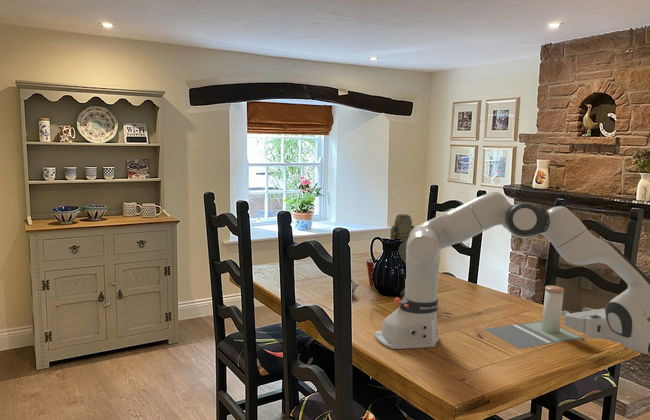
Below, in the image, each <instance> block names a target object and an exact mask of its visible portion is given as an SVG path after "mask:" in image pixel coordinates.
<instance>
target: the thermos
mask: <svg viewBox="0 0 650 420" xmlns="http://www.w3.org/2000/svg"><path fill="white" fill-rule="evenodd" d="M393 224H394V225H392V226H391V228H390V239H389V241H390V240H392V239H402V240H404V242H403V241H402V242H403V243H402V244H400V247H399V250H398V252H400V253H399V255H401V256H400V257H402V258H401V259H402V260H403V261H404V262H405V263H406V245H407V241H408V237H409V234H410V232H411V230H412V229H413V228H414V227H415V226H414V225H413V221H412V217H411V216H410V215H409V214H403V213H401V214H397V215H396V217H395V219H394V223H393ZM399 296H405V288H404V289H403V291H402V292H401V293H400V295H399Z"/></svg>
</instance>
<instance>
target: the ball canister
mask: <svg viewBox="0 0 650 420" xmlns="http://www.w3.org/2000/svg"><path fill="white" fill-rule="evenodd" d="M564 292H565V288H564V287H561V286H557V285H545V286H544V299H543V301H544V302H543V311H542V320H541V321H542V331H544V332H546V333H550V334H558V333H560V327H561V321H562V311H563V310H562V309H563V302H564Z"/></svg>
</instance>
